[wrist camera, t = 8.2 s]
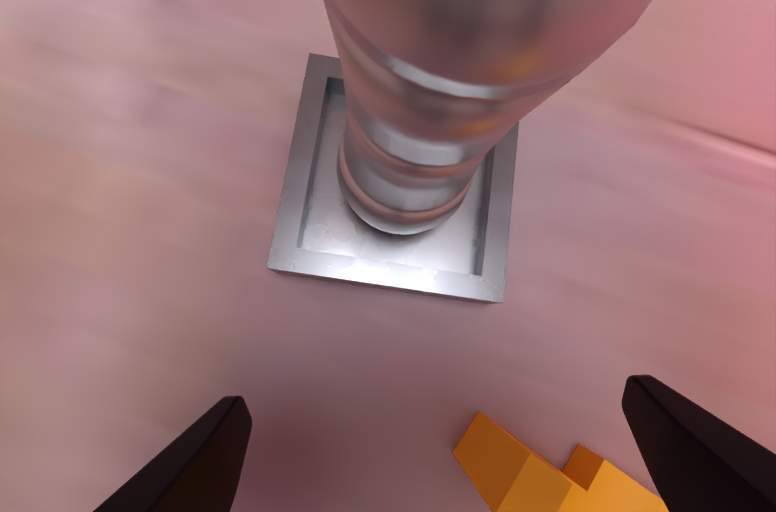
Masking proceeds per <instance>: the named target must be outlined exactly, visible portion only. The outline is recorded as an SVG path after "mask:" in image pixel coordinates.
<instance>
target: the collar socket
mask: <svg viewBox="0 0 776 512" xmlns="http://www.w3.org/2000/svg"><path fill="white" fill-rule="evenodd" d="M346 113H347V103H346V96H345V88H344V81H343V73H342V66H341V62H340V58H334V57H329V56H323V55H318V54H312V53H309V58H308V63H307V68H306V73H305V78H304V83H303V88H302V93H301V98H300V104H299V109H298V114H297V119H296V124H295V129H294V134H293V139H292V144H291V149H290V154H289V159H288V164H287V169H286V174H285V179H284V185H283V190H282V195H281V200H280V205H279V210H278V215H277V220H276V225H275V230H274V235H273V240H272V245H271V250H270V255H269V260H268V266H267V268H268V269H270V270H272V271H274V272H276V273H280V274H287V275H293V276H300V277H307V278H314V279H321V280H327V281H334V282H341V283H348V284H355V285H361V286H368V287H375V288H382V289H388V290H395V291H402V292H409V293H416V294H422V295H429V296H436V297H443V298H450V299H456V300H463V301H470V302H477V303H483V304H495V303H503V295H504V284H505V272H506V261H507V250H508V239H509V227H510V216H511V205H512V194H513V183H514V171H515V160H516V149H517V138H518V126H519V121H518V122H517V123H516V124H515V125H514V126H513V127H512V128H511V129H510V130H509V131H508V132H507V133H506V134H505V135H504V136H503V137H502V138H501V139H500V140H499V141H498V142H497V143H496V144H495V145H494V146H493V147H492V148H491V149H490V150H489V152H488V153H487V154H486V155H485V156H484V158H483V160H482V161H481V163H480V165H479V166H478V168H477V170H476V171H475V173H474V176H473V180H472V183H471V185H470V188H469V190H468V192H467V194H466V196H465V198H464V200H463V202H462V204H461V206H460V207H459V208H458V210H457V211H456V212H455V214H453V215H452V216H451V217H450V218H449V219H448V220H446V221H445V222H444V223H442V224H440V225H438V226H436V227H435V228H432V229H429V230H425V231H422V232H419V233H414V234H406V235H403V234H392V233H388V232H385V231H381V230H379V229H377V228H375V227H373V226H371V225H369V224H368V223H367V222H365V221H364V220H362V219H361V218H360V217H359V216H358V215H357V214H356V212H355V211H354V210H353V209H352V208H351V206H350V205H349V203H348V202H347V200H346V199H345V197H344V196H343V194H342V191H341V188H340V186H339V183H338V178H337V171H336V167H337V155H338V150H339V146H340V142H341V138H342V135H343V133H344V130H345V122H346Z"/></svg>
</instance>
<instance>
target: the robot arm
mask: <svg viewBox="0 0 776 512" xmlns="http://www.w3.org/2000/svg"><path fill="white" fill-rule="evenodd" d="M622 409H623V412H624V415H625V417H626V419H627V422H628V424H629V426H630V429H631V431H632V434H633V436H634V438H635V441H636V443H637V445H638V448H639V450H640V453H641V455H642V457H643V460H644V462H645V464H646V467H647V469H648V471H649V474H650V476H651V478H652V480H653V482H654V484H655V486H656V488H657V490H658V492H659V494H660V496H661V498H662V500H663V501H664V503H665V505H666V507H667V509H668V511H669V512H776V454H774V453H773V452H771V451H770V450H768V449H766V448H765V447H763V446H762V445H760V444H759V443H757V442H755V441H754V440H752V439H751V438H749V437H748V436H746V435H744V434H743V433H741V432H740V431H738V430H736V429H735V428H733V427H732V426H730V425H729V424H727V423H725V422H724V421H722V420H721V419H719V418H717V417H716V416H714V415H713V414H711V413H710V412H708V411H706V410H705V409H703V408H702V407H700V406H698V405H697V404H695V403H694V402H692V401H691V400H689V399H687V398H686V397H684V396H683V395H681V394H680V393H678V392H676V391H675V390H673V389H672V388H670V387H668V386H667V385H665V384H664V383H662V382H661V381H659V380H657V379H656V378H654V377H652V376H650V375H631V376H629V377H628V378H627V381H626V385H625V389H624V393H623V397H622ZM251 428H252V419H251V416H250V413H249V411H248V408H247V406H246V403H245V401H244V399H243V397H241V396H226V397H224V398H222V399H221V400H220V401H218V402H217V403H216V404H215V405H214V406H213V407H212V408H210V409H209V410H208V411H207V412H206V413H205V414H204V415H202V416H201V417H200V418H199V419H198V420H197V421H196V422H194V423H193V424H192V425H191V426H190V427H189V428H188V429H186V430H185V431H184V432H183V433H182V434H181V435H180V436H178V437H177V438H176V439H175V440H174V441H173V442H172V443H170V444H169V445H168V446H167V447H166V448H165V449H164V450H163V451H161V452H160V453H159V454H158V455H157V456H156V457H155V458H153V459H152V460H151V461H150V462H149V463H148V464H147V465H145V466H144V467H143V468H142V469H141V470H140V471H139V472H137V473H136V474H135V475H134V476H133V477H132V478H131V479H129V480H128V481H127V482H126V483H125V484H124V485H123V486H121V487H120V488H119V489H118V490H117V491H116V492H115V493H113V494H112V495H111V496H110V497H109V498H108V499H107V500H105V501H104V502H103V503H102V504H101V505H100V506H99V507H97V508H96V509H95V510H94V511H93V512H230V509H231V506H232V503H233V500H234V497H235V494H236V490H237V487H238V483H239V479H240V475H241V470H242V466H243V462H244V458H245V454H246V449H247V445H248V441H249V437H250V433H251Z"/></svg>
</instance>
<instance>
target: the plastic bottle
mask: <svg viewBox="0 0 776 512" xmlns="http://www.w3.org/2000/svg"><path fill="white" fill-rule="evenodd" d="M651 1H652V0H324V4H325V8H326V11H327V15H328V18H329V22H330V26H331V29H332V33H333V37H334V40H335V44H336V47H337V51H338V55H339V58H340V62H341V66H342V73H343V81H344V88H345V96H346V103H347V113H346V122H345V130H344V133H343V135H342V138H341V142H340V146H339V150H338V155H337V167H336V171H337V178H338V183H339V186H340V188H341V191H342V194H343V196H344V197H345V199H346V200H347V202H348V203H349V205H350V206H351V208H352V209H353V210H354V211H355V212H356V214H357V215H358V216H359V217H360V218H361V219H362V220H364V221H365V222H367V223H368V224H369V225H371V226H373V227H375V228H377V229H379V230H381V231H385V232H388V233H392V234H403V235H406V234H414V233H419V232H422V231H425V230H429V229H432V228H435V227H436V226H438V225H440V224H442V223H444V222H445V221H446V220H448V219H449V218H450V217H451V216H452V215H453V214H455V212H456V211H457V210H458V208H459V207H460V206H461V204H462V202H463V200H464V198H465V196H466V194H467V192H468V190H469V188H470V185H471V183H472V180H473V176H474V173H475V171H476V170H477V168H478V166H479V165H480V163H481V161H482V160H483V158H484V156H485V155H486V154H487V153H488V152H489V150H490V149H491V148H492V147H493V146H494V145H495V144H496V143H497V142H498V141H499V140H500V139H501V138H502V137H503V136H504V135H505V134H506V133H507V132H508V131H509V130H510V129H511V128H512V127H513V126H514V125H515V124H516V123H517V122H518V121H519V120H521V119H522V118H523V117H524V116H526V115H527V114H528V113H530V112H531V111H532V110H533V109H535V108H536V107H537V106H538V105H540V104H541V103H542V102H544V101H545V100H546V99H547V98H549V97H550V96H551V95H553V94H554V93H555V92H556V91H558V90H559V89H560V88H562V87H563V86H564V85H565V84H567V83H568V82H569V81H570V80H571V79H573V78H574V77H575V76H577V75H579V74H580V73H581V72H582V71H584V70H585V69H586V68H587V67H588V66H589V65H591V64H592V63H593V62H594V61H595V60H596V59H598V58H599V57H600V56H601V55H602V54H603V53H604V52H605V51H606V50H607V49H608V48H609V47H610V46H612V45H613V44H614V43H615V42H616V41H617V40H618V39H619V38H620V37H621V36H622V35H624V34H625V33H626V32H627V31H628V30H629V29H630V28H631V27H633V26H634V24H635V23H636V22H637V20H638V19H639V18H640V16H641V15H642V13H643V12H644V11H645V9H646V8H647V7H648V5H649V4H650V2H651Z"/></svg>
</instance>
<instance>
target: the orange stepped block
mask: <svg viewBox="0 0 776 512" xmlns="http://www.w3.org/2000/svg"><path fill="white" fill-rule="evenodd" d="M453 454H454V456H455V457H456V459H457V460H458V462H459V463H460V465H461V466H462V468H463V469H464V471H465V472H466V474H467V475H468V477H469V478H470V480H471V481H472V483H473V484H474V486H475V487H476V489H477V490H478V492H479V493H480V495H481V496H482V498H483V499H484V501H485V502H486V504H487V505H488V507H489V508H490V510H491V511H492V512H669V511H668V509H667V507H666V505H665V503H664V501H663V500H662V499H660V498H659V497H658V496H656V495H655V494H653V493H652V492H650V491H649V490H647V489H646V488H644V487H643V486H642V485H640V484H639V483H637V482H636V481H634V480H633V479H632V478H630V477H629V476H627V475H626V474H624V473H623V472H622V471H620V470H619V469H617V468H616V467H615V466H613V465H612V464H611V463H609V462H608V461H606V460H605V459H603V458H602V457H600V456H598V455H597V454H595V453H593V452H592V451H590V450H588V449H587V448H585V447H583V446H582V445H580V444H578V445H577V447H576V448H575V450H574V452H573V454H572V456H571V457H570V459H569V461H568V463H567V464H566V466H565V468H564V470H563V472H562V471H560V470H559V469H557V468H556V467H555V466H553V465H552V464H551V463H549V462H548V461H546V460H545V459H544V458H542V457H541V456H540V455H538V454H537V453H536V452H534V451H533V450H531V449H530V448H529V447H527V446H526V445H525V444H523V443H522V442H520V441H519V440H518V439H516V438H515V437H514V436H512V435H511V434H509V433H508V432H507V431H505V430H504V429H503V428H501V427H500V426H499V425H497V424H496V423H494V422H493V421H492V420H490V419H489V418H488V417H486V416H485V415H483V414H482V413H481V412H479V411H478V413H477V415H476V416H475V418H474V419H473V421H472V423H471V424H470V426H469V428H468V429H467V431H466V432H465V434H464V436H463V437H462V439H461V440H460V442H459V444H458V445H457V447H456V448H455V450H454V452H453Z"/></svg>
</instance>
